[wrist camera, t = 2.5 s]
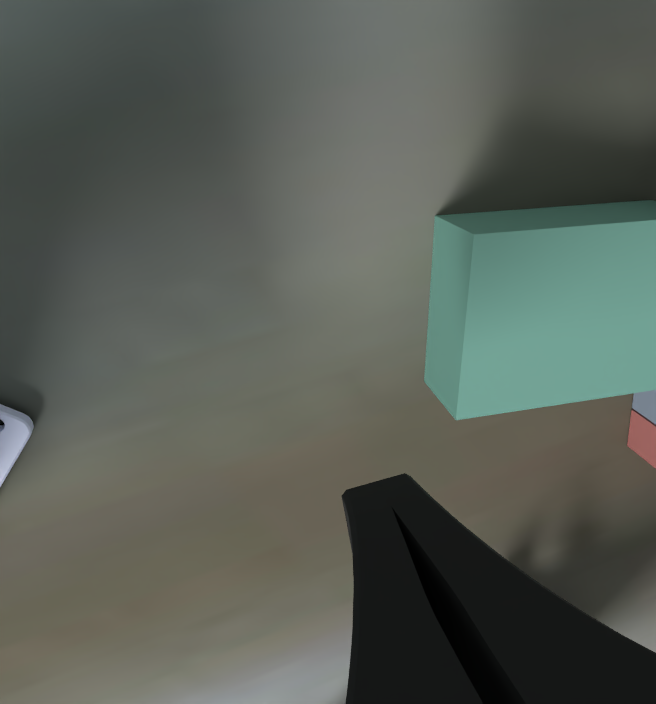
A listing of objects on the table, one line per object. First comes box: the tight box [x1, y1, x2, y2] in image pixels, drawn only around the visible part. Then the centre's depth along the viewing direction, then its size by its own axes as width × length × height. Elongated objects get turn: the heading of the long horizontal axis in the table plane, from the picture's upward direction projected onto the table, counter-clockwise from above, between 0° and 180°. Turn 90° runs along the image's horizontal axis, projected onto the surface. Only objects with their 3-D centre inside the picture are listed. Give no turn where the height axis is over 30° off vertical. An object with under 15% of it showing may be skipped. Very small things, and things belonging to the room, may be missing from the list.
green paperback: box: [424, 200, 656, 420], centre depth 18 cm, size 8×6×3 cm
